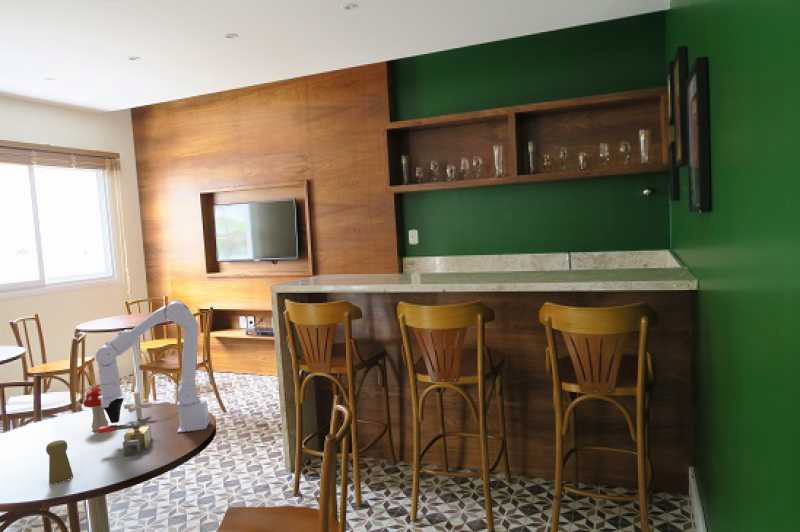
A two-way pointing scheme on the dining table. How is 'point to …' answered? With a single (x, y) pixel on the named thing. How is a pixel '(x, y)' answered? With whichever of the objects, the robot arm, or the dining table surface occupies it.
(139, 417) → the pipe connector
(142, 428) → the valve body
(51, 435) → the dining table surface
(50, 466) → the cork
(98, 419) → the decorative mushroom
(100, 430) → the valve lever
